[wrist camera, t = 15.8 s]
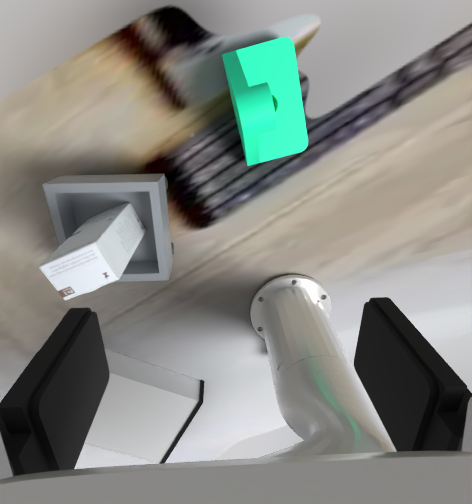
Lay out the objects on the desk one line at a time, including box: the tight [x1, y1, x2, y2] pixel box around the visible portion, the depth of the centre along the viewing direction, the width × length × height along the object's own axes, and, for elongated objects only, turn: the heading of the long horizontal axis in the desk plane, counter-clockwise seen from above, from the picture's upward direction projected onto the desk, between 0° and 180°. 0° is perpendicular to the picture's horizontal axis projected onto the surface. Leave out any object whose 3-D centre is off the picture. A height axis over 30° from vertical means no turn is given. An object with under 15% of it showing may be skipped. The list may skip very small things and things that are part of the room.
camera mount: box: [222, 37, 308, 166], centre depth 34 cm, size 12×8×10 cm, turn 14°
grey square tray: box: [43, 174, 174, 282], centre depth 40 cm, size 12×12×8 cm
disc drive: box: [84, 349, 204, 464], centre depth 55 cm, size 18×22×5 cm
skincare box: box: [39, 203, 146, 300], centre depth 35 cm, size 6×4×12 cm
